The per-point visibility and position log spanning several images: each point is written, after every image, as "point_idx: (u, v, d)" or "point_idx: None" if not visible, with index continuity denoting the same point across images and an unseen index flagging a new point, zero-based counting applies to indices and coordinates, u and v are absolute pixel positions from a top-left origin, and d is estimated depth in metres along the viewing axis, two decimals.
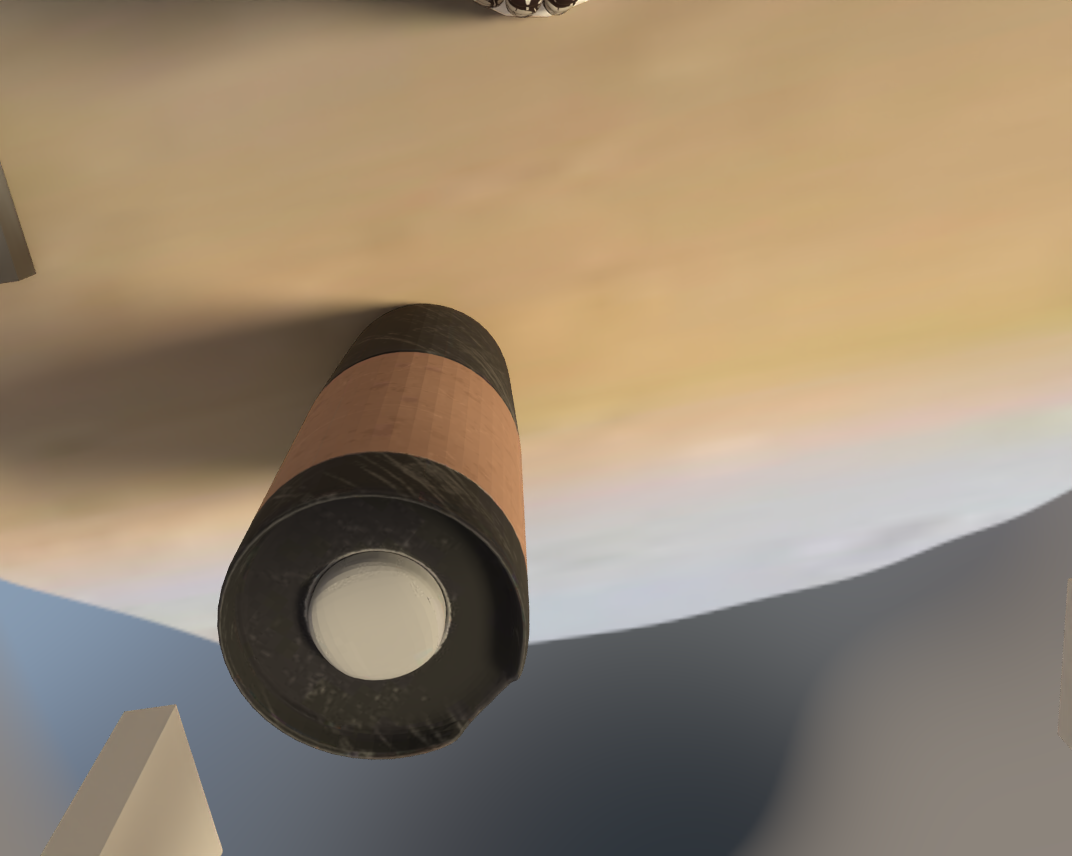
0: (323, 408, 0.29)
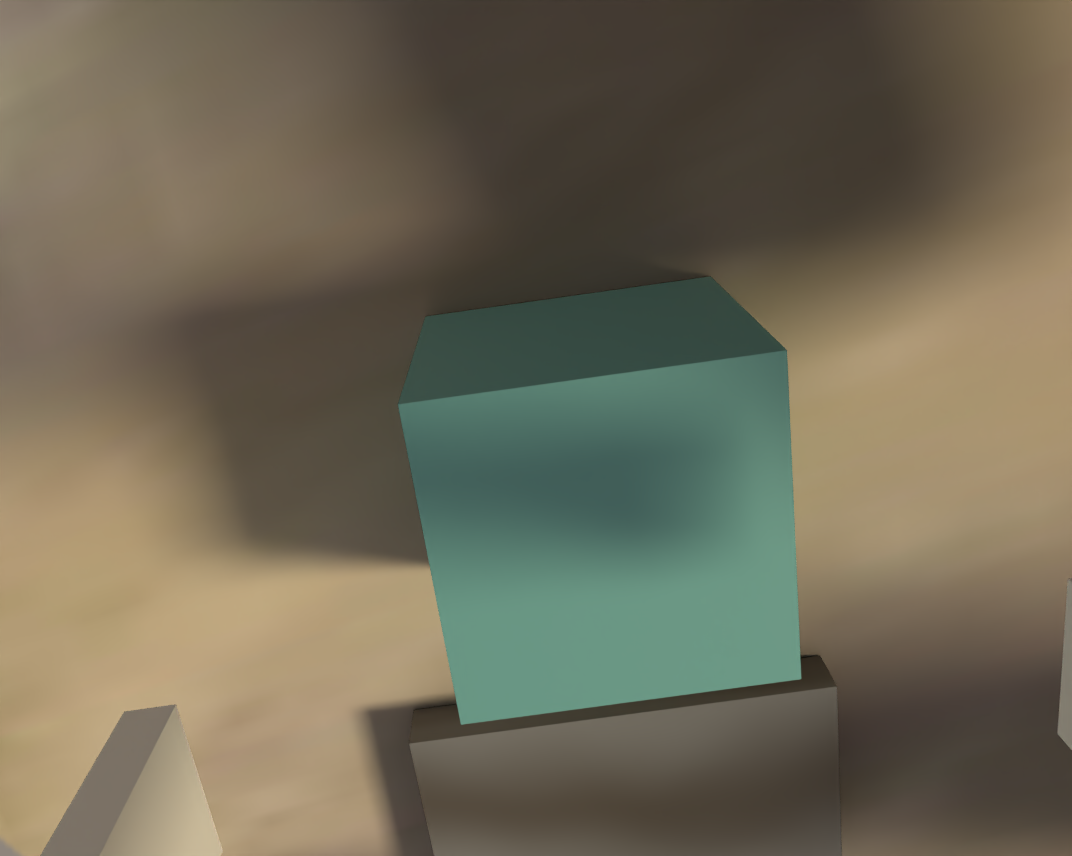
0: None
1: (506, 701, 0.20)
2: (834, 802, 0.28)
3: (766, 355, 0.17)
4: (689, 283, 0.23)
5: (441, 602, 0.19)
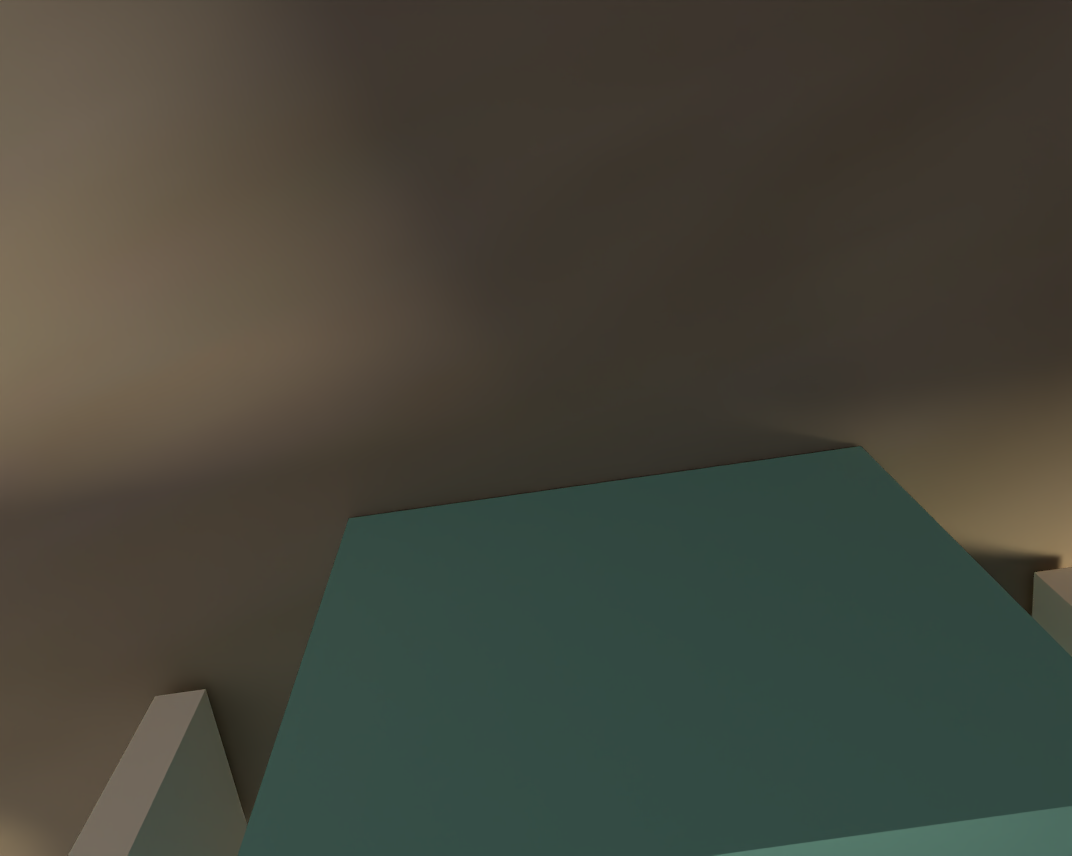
0: None
1: None
2: None
3: None
4: (827, 463, 0.13)
5: None
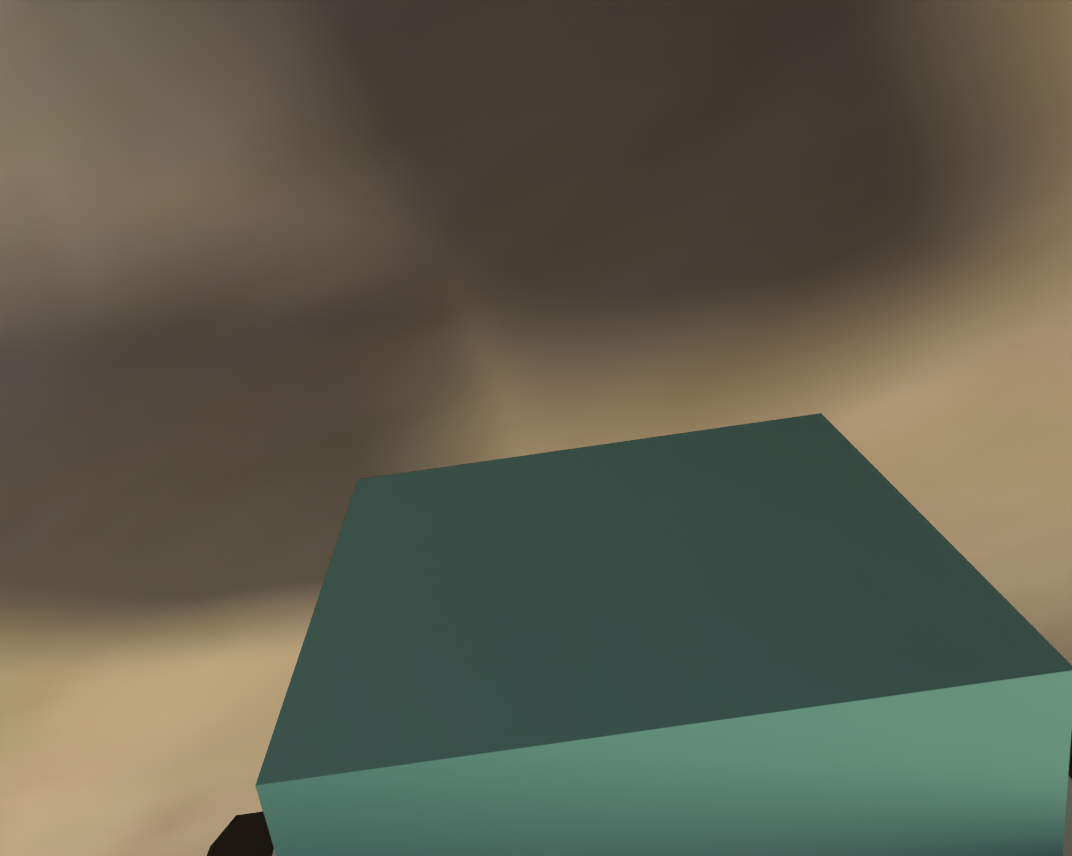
0: None
1: None
2: None
3: (1033, 681, 0.08)
4: (789, 428, 0.14)
5: None
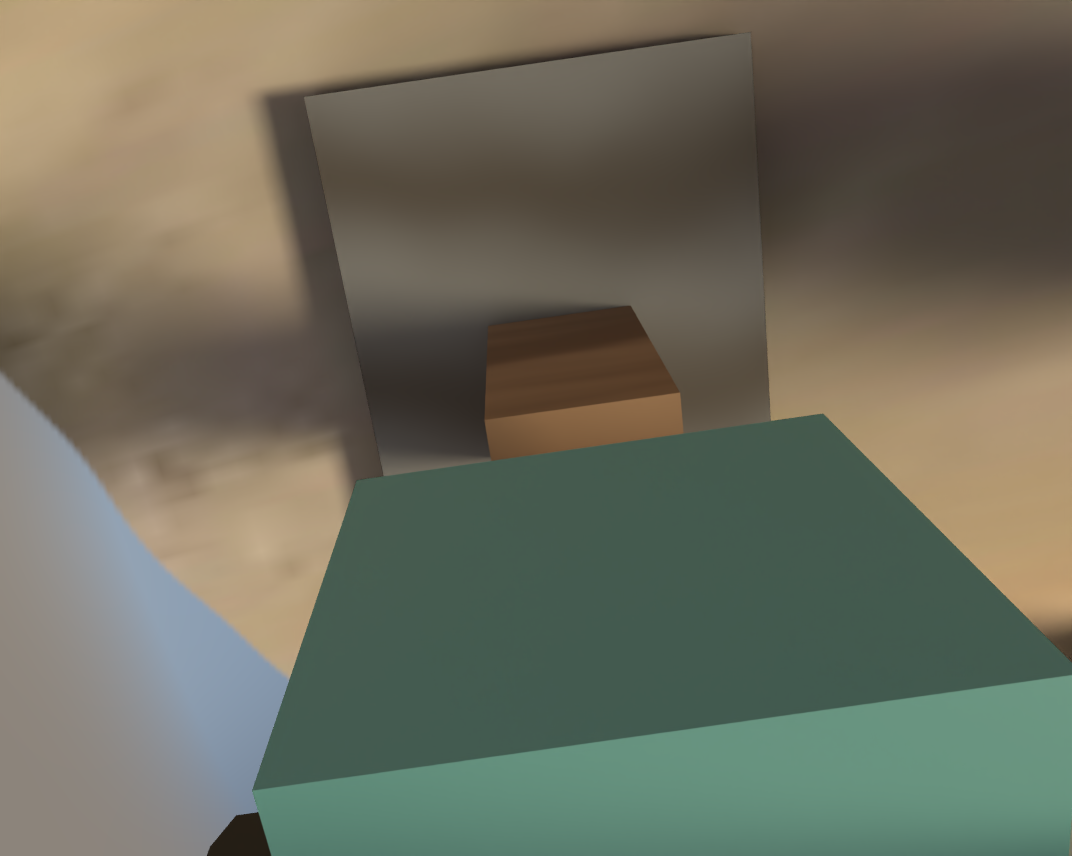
0: None
1: None
2: (752, 187, 0.27)
3: (1039, 685, 0.08)
4: (791, 428, 0.14)
5: None
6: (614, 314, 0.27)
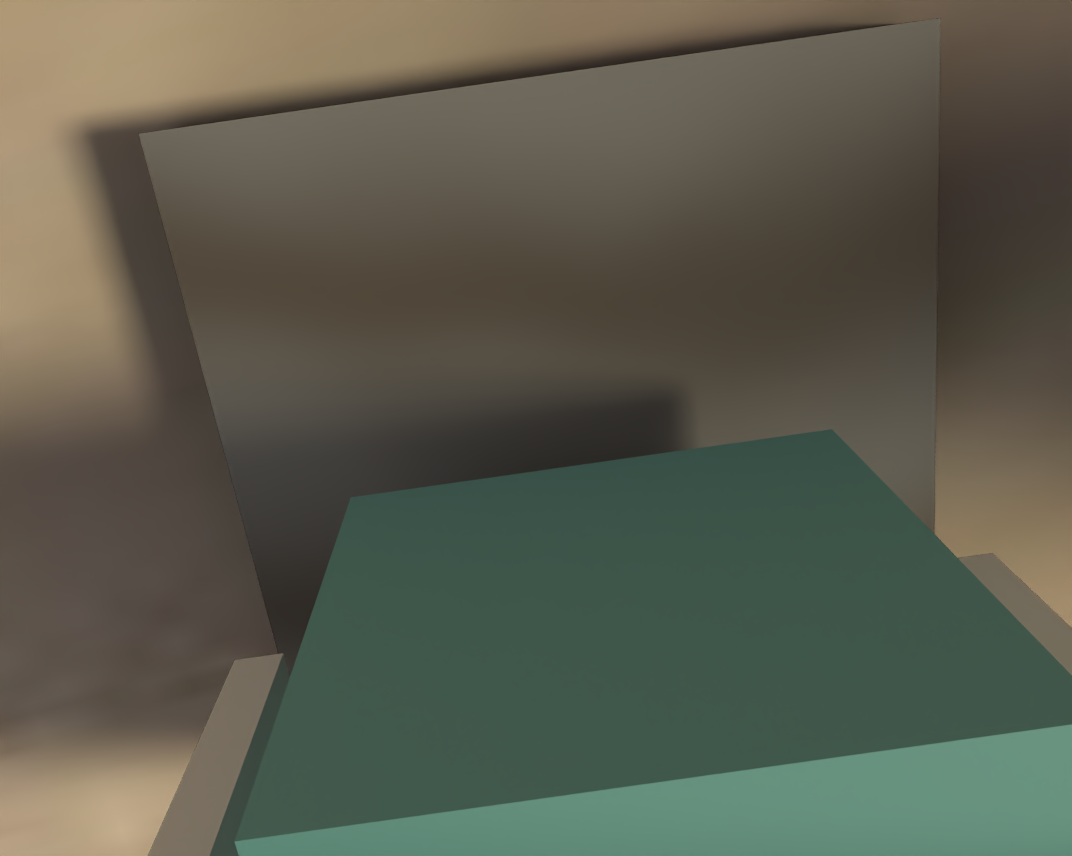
0: None
1: None
2: (927, 287, 0.15)
3: (1068, 730, 0.08)
4: (799, 445, 0.14)
5: None
6: None
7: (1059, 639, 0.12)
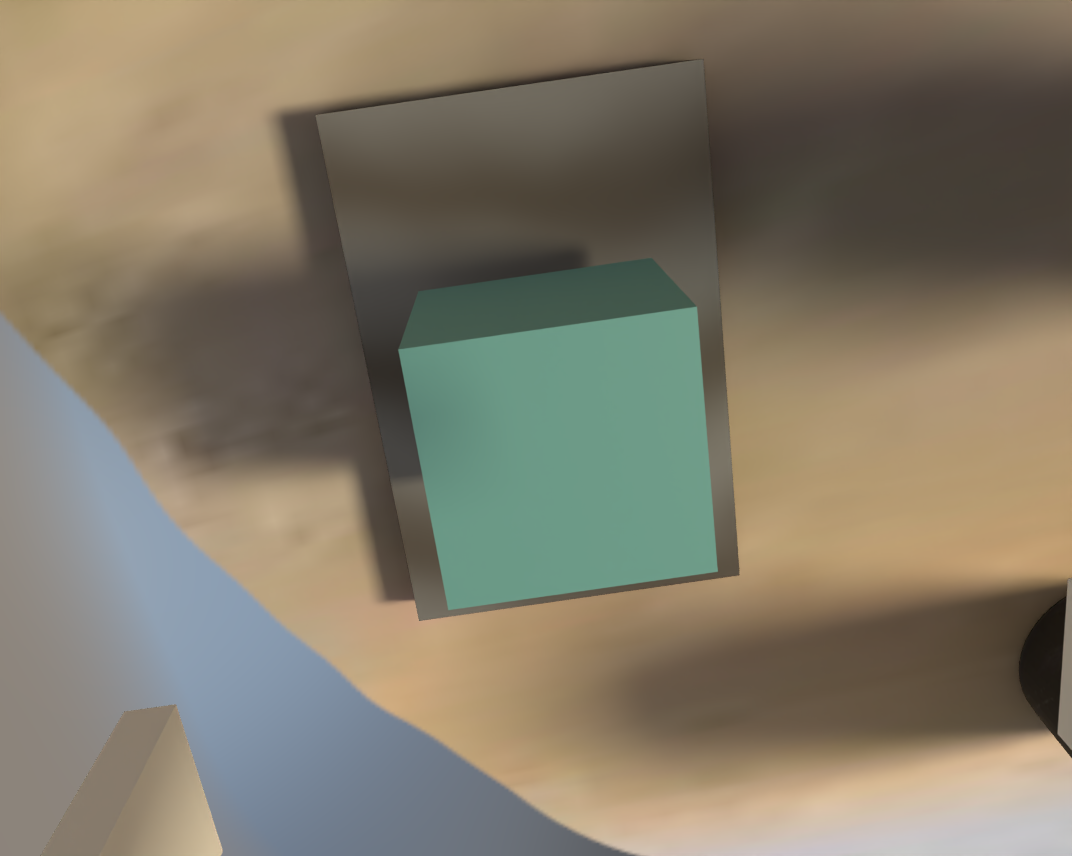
0: None
1: (484, 590, 0.25)
2: (707, 193, 0.30)
3: (681, 310, 0.23)
4: (633, 263, 0.29)
5: (432, 508, 0.24)
6: None
7: None
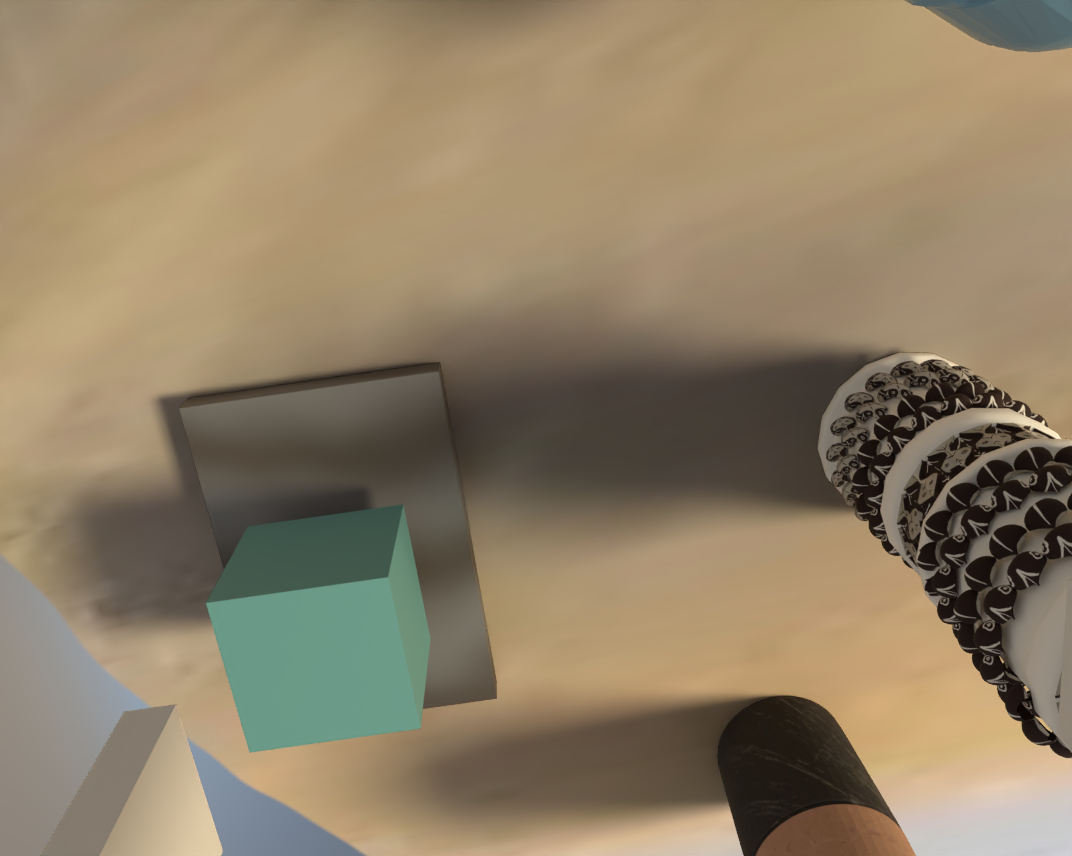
0: None
1: (271, 740, 0.40)
2: (449, 453, 0.45)
3: (378, 579, 0.37)
4: (389, 510, 0.43)
5: (234, 692, 0.39)
6: None
7: None
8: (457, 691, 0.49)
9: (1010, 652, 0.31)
